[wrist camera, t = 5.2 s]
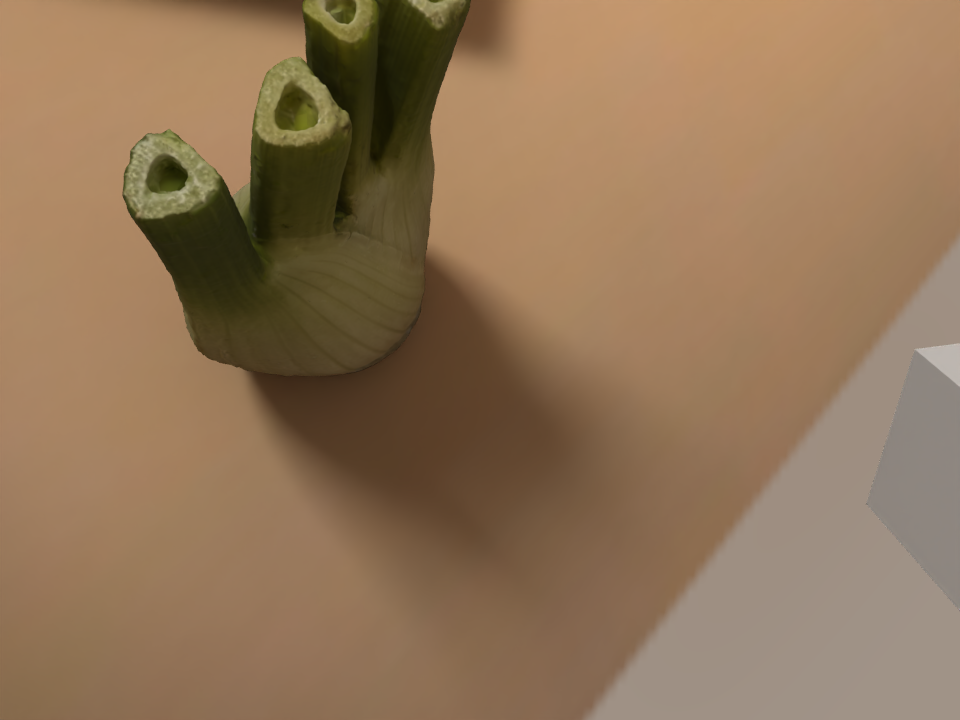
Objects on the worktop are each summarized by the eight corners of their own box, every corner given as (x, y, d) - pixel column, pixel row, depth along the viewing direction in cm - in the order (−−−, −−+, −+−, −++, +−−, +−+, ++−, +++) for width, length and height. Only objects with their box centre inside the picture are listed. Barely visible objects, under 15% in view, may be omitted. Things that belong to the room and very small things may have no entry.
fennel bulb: (225, 420, 22) (123, 265, 11) (177, 234, 23) (35, -95, 12) (450, 360, 24) (576, 164, 12) (397, 186, 24) (467, -154, 13)
